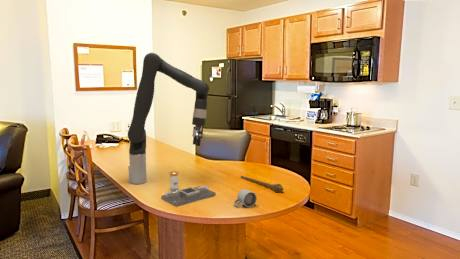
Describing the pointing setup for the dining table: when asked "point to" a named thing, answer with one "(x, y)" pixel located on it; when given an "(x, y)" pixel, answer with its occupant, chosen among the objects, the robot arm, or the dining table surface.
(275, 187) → the torque wrench
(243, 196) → the ceramic mug
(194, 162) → the dining table surface
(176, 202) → the coupling base
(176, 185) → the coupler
